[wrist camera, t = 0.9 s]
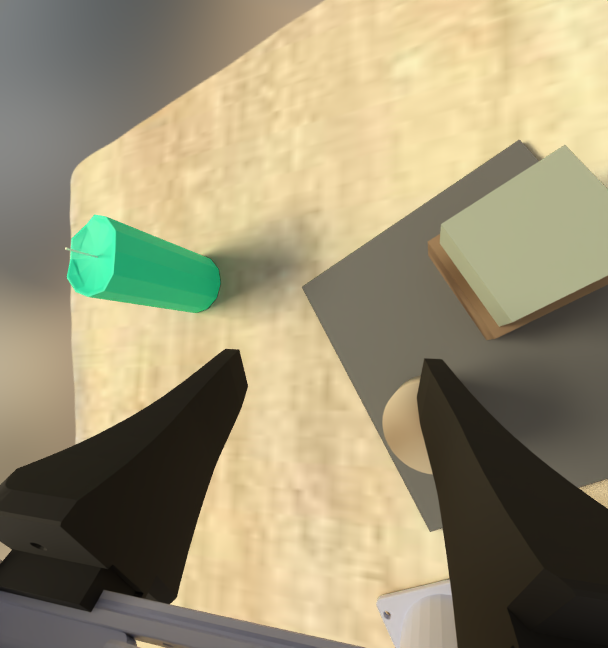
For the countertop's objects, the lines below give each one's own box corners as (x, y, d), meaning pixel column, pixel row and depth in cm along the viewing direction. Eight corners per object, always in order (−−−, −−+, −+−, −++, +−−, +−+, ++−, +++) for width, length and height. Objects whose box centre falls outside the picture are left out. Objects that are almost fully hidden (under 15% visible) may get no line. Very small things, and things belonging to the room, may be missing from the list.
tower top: (620, 266, 15) (664, 247, 12) (498, 326, 16) (512, 322, 14) (542, 179, 16) (565, 144, 13) (439, 243, 18) (441, 224, 15)
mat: (770, 424, 14) (781, 426, 14) (430, 527, 20) (430, 531, 20) (517, 144, 20) (519, 139, 19) (304, 288, 25) (301, 286, 25)
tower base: (606, 281, 17) (639, 269, 14) (486, 340, 19) (495, 338, 16) (529, 193, 19) (546, 166, 16) (428, 255, 21) (427, 241, 18)
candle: (222, 253, 29) (97, 197, 18) (218, 313, 29) (89, 291, 18) (178, 258, 32) (45, 211, 21) (174, 313, 31) (36, 294, 20)
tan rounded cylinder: (483, 429, 19) (500, 455, 14) (415, 456, 20) (410, 487, 16) (442, 363, 20) (445, 367, 16) (380, 393, 22) (367, 404, 17)
